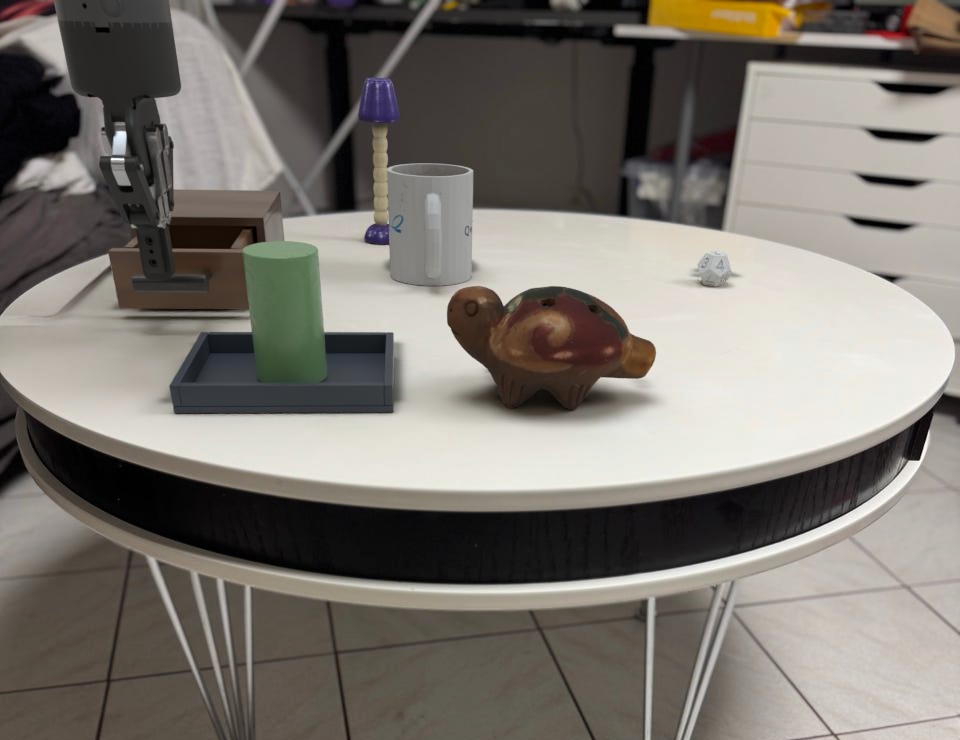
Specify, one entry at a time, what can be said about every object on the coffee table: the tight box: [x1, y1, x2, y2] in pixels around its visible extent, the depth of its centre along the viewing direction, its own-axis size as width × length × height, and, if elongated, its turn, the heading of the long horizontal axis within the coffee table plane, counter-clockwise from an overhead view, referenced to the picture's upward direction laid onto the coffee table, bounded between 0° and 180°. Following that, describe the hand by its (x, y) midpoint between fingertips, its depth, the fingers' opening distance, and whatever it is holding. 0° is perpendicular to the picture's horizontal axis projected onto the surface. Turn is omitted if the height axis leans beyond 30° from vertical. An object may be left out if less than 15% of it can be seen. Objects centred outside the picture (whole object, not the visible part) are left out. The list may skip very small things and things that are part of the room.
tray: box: [169, 331, 395, 414], centre depth 68 cm, size 15×12×2 cm
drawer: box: [107, 225, 257, 310], centre depth 83 cm, size 18×11×5 cm, turn 4°
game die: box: [697, 250, 733, 288], centre depth 95 cm, size 4×4×3 cm
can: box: [242, 240, 327, 383], centre depth 66 cm, size 5×5×9 cm
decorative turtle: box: [446, 285, 657, 411], centre depth 65 cm, size 10×15×8 cm, turn 98°
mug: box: [387, 162, 474, 287], centre depth 92 cm, size 12×9×10 cm
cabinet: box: [129, 189, 286, 243], centre depth 93 cm, size 15×13×7 cm
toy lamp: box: [357, 77, 401, 245], centre depth 104 cm, size 5×5×17 cm
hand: (160, 277), depth 73 cm, fingers closed
